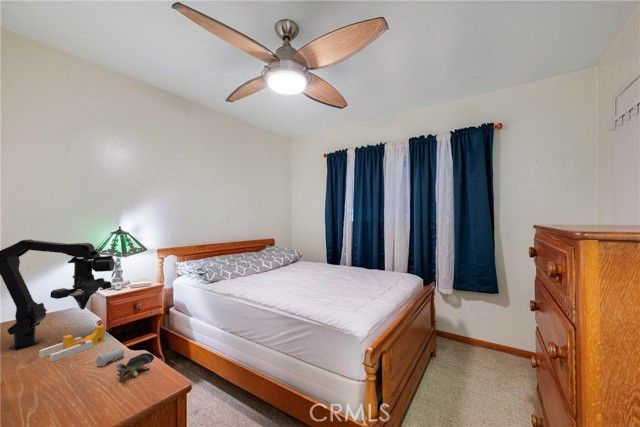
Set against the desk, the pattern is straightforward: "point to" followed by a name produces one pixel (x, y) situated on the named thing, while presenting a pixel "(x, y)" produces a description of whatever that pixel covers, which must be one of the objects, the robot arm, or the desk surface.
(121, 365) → the dark grey animal figurine
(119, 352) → the smooth white sculpture
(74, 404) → the desk surface
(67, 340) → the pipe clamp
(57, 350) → the guide channel
